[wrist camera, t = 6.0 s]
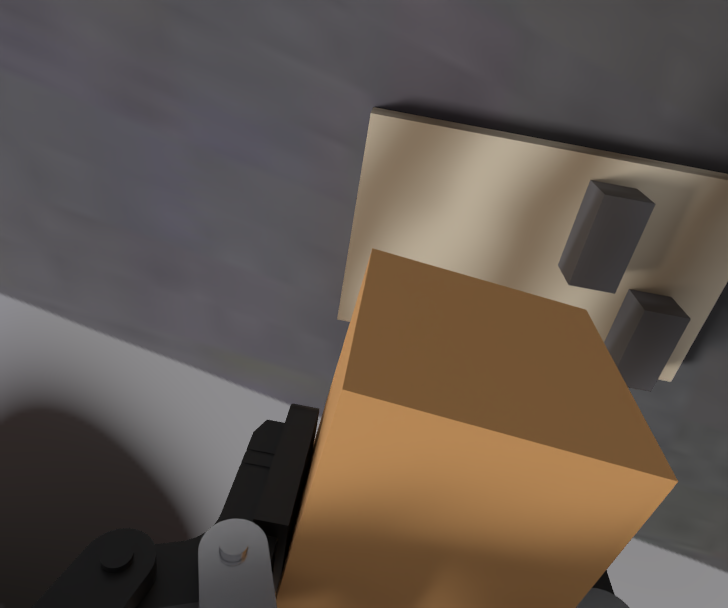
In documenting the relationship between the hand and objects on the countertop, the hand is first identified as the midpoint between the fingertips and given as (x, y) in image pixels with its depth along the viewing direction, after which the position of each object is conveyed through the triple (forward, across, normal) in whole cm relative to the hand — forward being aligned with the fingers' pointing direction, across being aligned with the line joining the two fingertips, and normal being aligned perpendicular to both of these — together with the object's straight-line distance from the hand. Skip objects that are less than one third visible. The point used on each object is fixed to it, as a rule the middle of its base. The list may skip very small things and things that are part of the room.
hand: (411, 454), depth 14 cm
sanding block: (+1, 0, 0) cm, 1 cm away
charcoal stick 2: (+13, -11, +2) cm, 17 cm away
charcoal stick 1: (+13, -7, -3) cm, 15 cm away
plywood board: (+14, -5, -1) cm, 15 cm away
